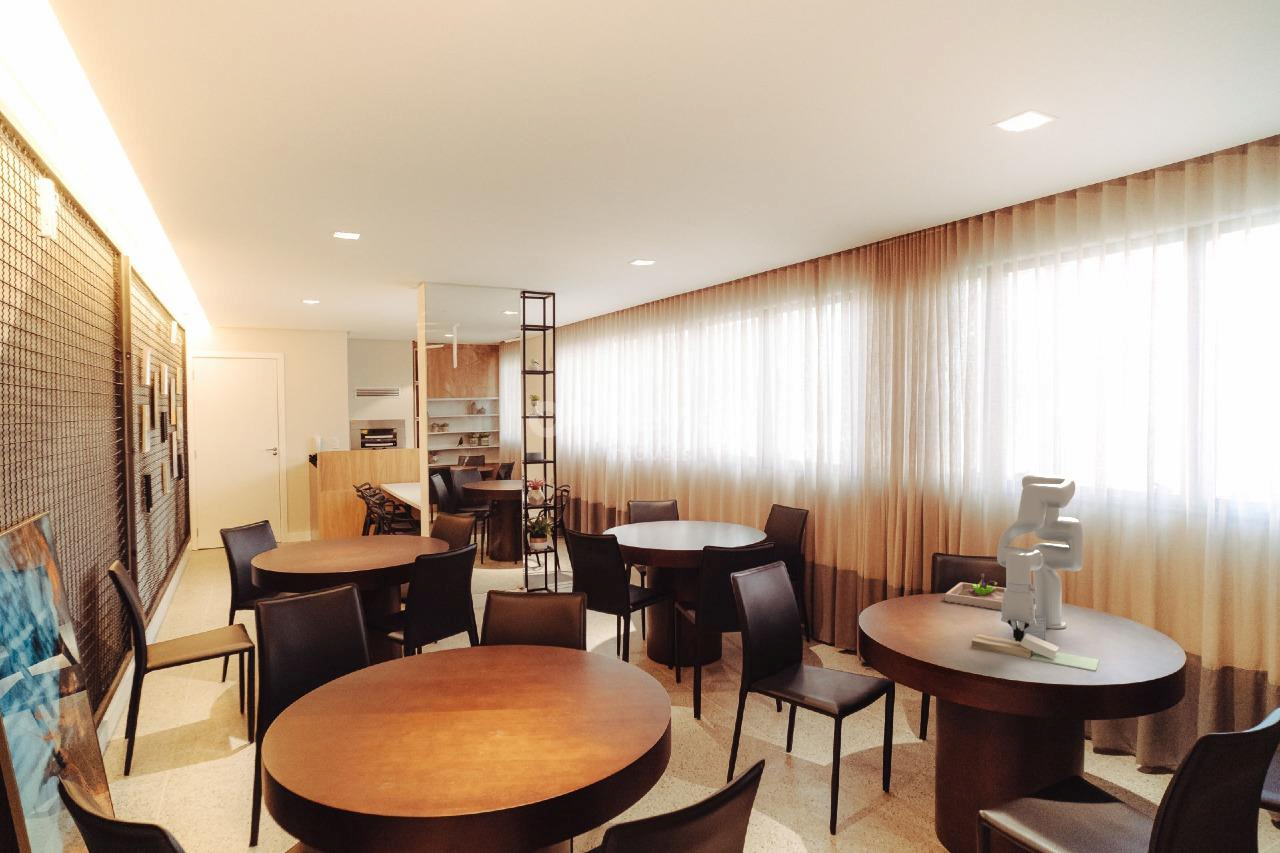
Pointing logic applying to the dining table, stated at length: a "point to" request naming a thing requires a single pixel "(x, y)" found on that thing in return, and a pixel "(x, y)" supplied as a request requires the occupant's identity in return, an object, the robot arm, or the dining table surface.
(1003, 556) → the robot arm
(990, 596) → the plant
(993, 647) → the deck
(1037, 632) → the medicine box
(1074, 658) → the mat
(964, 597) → the planter tray
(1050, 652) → the cream rectangular block
